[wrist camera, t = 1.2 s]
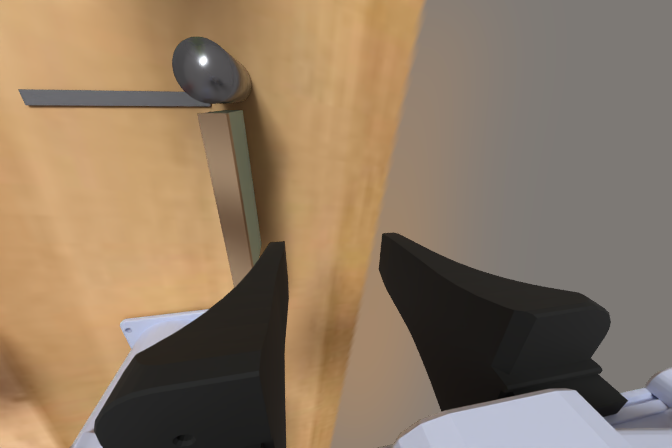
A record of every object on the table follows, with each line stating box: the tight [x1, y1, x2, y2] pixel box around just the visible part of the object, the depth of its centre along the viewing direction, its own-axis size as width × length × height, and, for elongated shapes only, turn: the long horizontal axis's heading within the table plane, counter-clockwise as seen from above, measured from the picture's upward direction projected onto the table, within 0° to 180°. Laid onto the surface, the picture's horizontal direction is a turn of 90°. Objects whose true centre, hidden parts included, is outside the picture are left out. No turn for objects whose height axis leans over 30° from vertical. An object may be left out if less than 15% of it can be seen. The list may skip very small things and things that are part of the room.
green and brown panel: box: [197, 110, 261, 288], centre depth 16 cm, size 10×1×6 cm, turn 0°
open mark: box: [18, 89, 211, 106], centre depth 15 cm, size 1×10×1 cm, turn 89°
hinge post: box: [172, 37, 252, 104], centre depth 13 cm, size 2×2×6 cm
